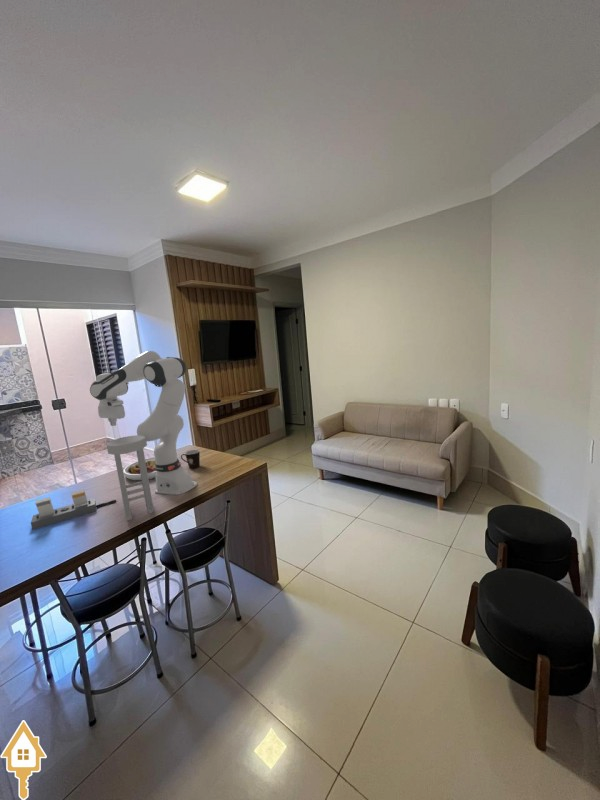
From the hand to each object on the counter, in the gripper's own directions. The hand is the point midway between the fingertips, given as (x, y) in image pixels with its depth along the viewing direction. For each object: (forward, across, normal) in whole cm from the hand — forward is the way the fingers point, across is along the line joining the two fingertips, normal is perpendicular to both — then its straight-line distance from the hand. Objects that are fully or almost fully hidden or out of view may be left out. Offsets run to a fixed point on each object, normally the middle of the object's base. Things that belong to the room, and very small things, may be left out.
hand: (113, 425), depth 180 cm
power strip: (+34, +15, -33) cm, 50 cm away
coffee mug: (+34, +25, +30) cm, 52 cm away
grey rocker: (+30, +10, -42) cm, 53 cm away
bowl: (+34, +4, +15) cm, 38 cm away
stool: (+35, +43, -20) cm, 59 cm away
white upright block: (+30, +16, -31) cm, 46 cm away
